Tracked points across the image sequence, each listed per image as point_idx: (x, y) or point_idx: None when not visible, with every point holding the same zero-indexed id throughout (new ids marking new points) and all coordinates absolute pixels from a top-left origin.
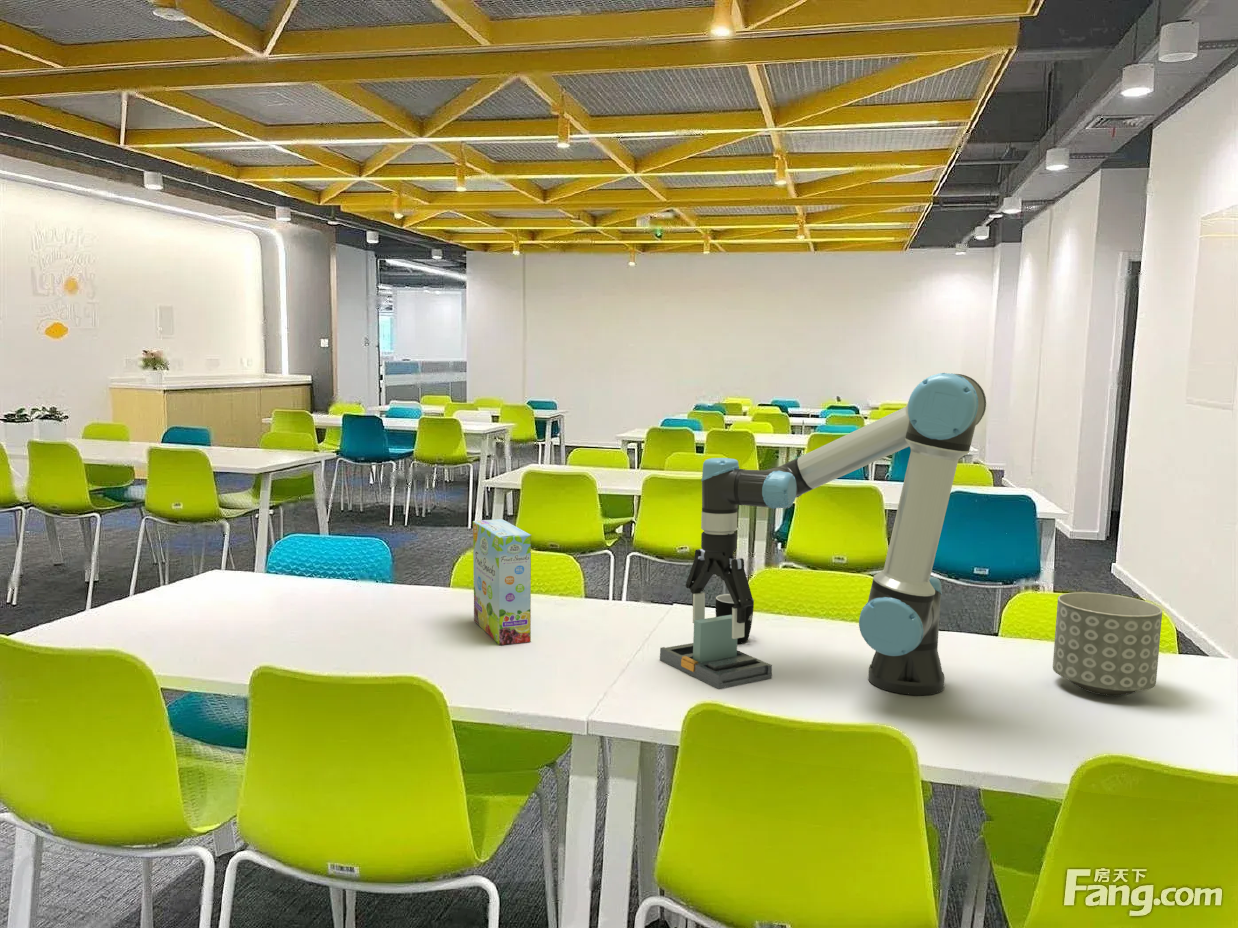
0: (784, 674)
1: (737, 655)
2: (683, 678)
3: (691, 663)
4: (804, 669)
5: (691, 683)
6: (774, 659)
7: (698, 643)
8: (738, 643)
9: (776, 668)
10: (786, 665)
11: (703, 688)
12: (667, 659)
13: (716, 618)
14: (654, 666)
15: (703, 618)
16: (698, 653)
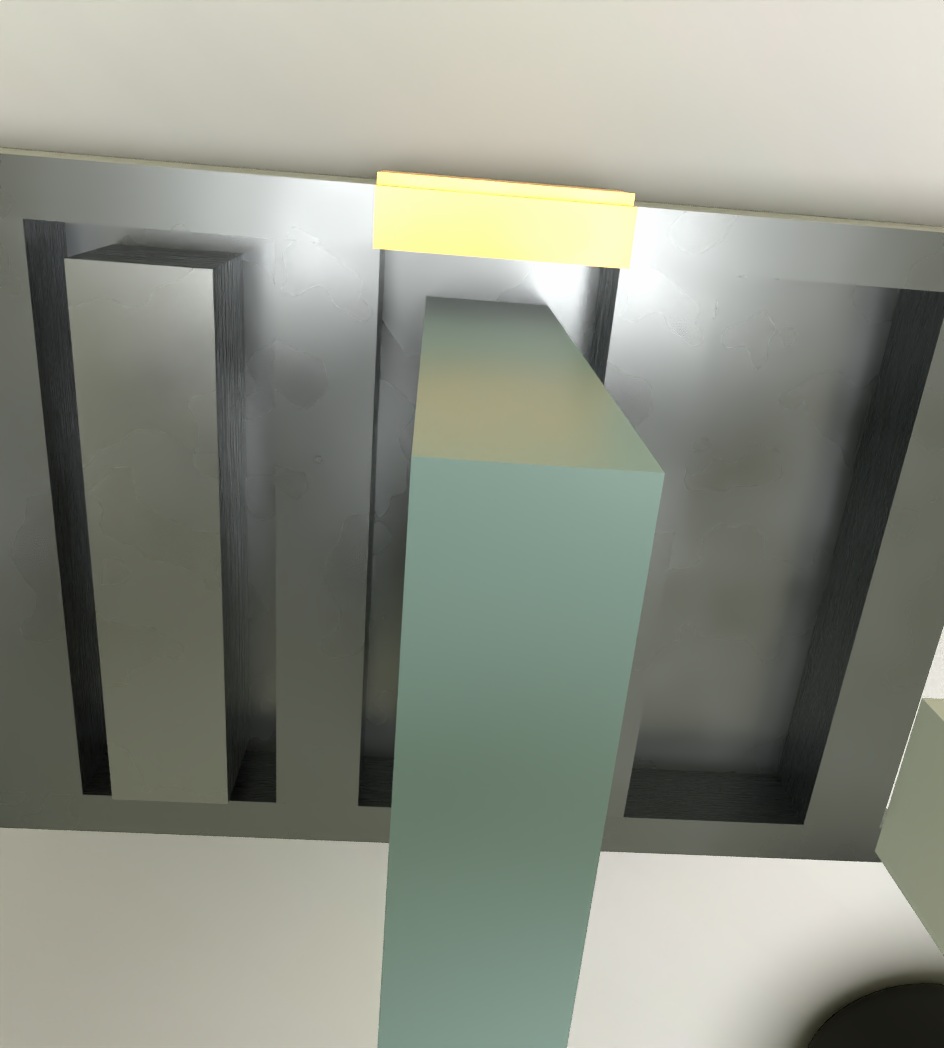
0: (70, 875)
1: None
2: (409, 41)
3: (426, 179)
4: (105, 1036)
5: (232, 3)
6: None
7: (461, 355)
8: (814, 1036)
9: (216, 912)
10: (237, 1000)
11: (36, 9)
12: (887, 224)
13: (509, 890)
14: (901, 26)
15: (906, 874)
16: (454, 330)
